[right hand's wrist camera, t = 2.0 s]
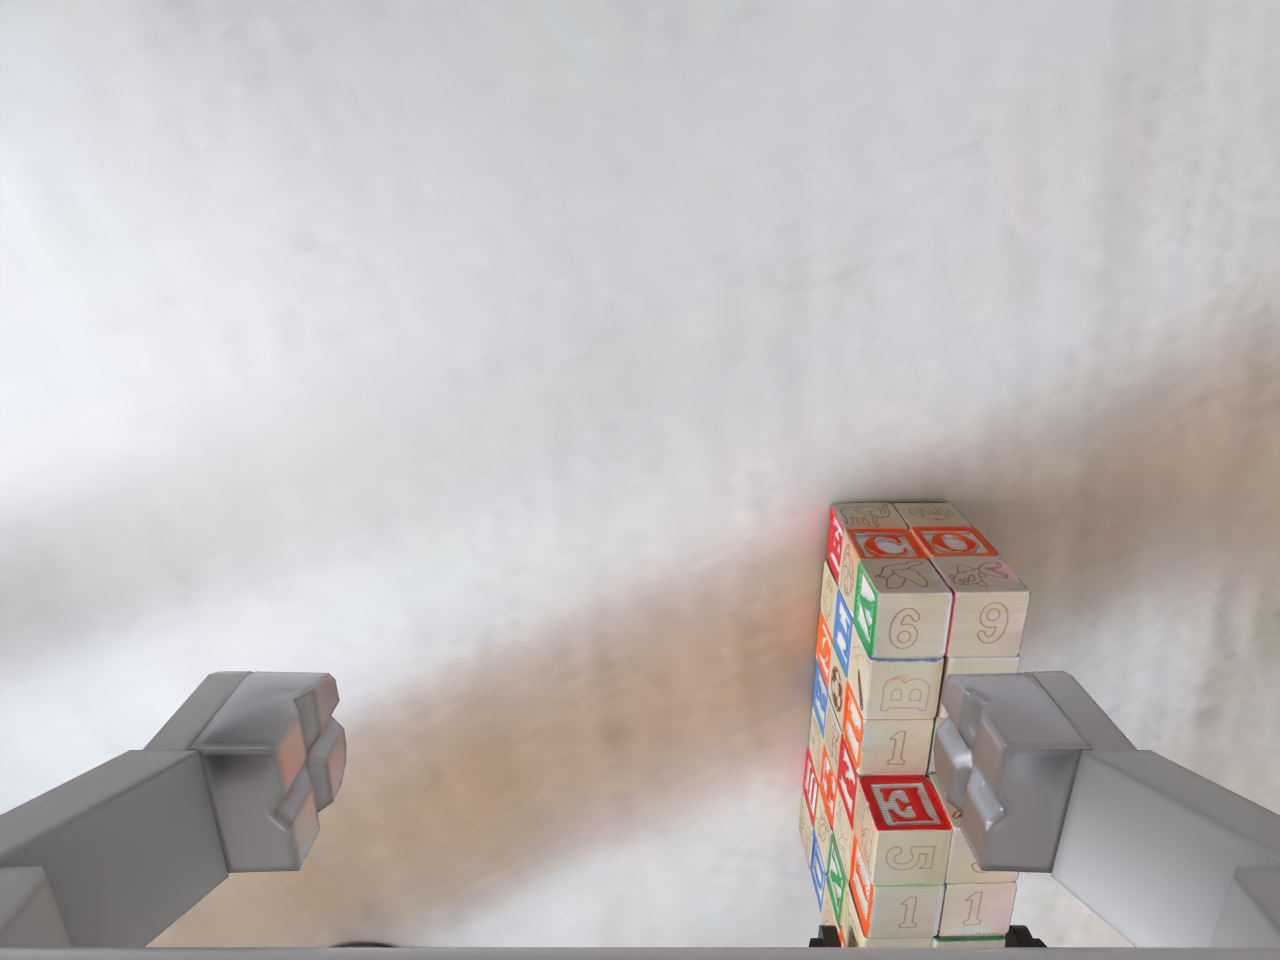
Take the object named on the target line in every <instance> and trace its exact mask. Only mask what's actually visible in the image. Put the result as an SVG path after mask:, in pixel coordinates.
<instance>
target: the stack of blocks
mask: <svg viewBox="0 0 1280 960" xmlns="http://www.w3.org/2000/svg"><path fill="white" fill-rule="evenodd" d="M1029 600H1030V591H1029V590H1028V589H1027V587H1026V586H1025V585H1024V584H1023V583H1022V581H1021V580H1020V579H1019V578H1018V577H1017V576H1016V575H1015V574H1014V573H1013V572H1012V571H1011V570H1010V568H1009V567H1008V566H1007V565H1006V564H1005V563H1004V562H1003V561H1002V559H1000V554H999V553H998V552H997V551H996V550H995V549H994V547H993V546H992V545H991V544H990V543H989V542H988V541H987V540H986V539H985V538H984V537H983V536H982V535H981V534H980V533H979V531H978V530H977V529H975V528H974V527H972V525H971V524H970V523H969V522H968V521H967V520H966V519H965V518H964V516H963V515H962V514H961V513H960V512H959V511H958V510H957V509H956V508H955V507H954V506H953V505H952V504H951V503H893V504H891V503H843V504H832V505H831V508H830V522H829V534H828V549H827V559H826V560H825V562H824V573H823V584H822V595H821V611H820V615H819V625H818V635H817V646H816V658H817V662H816V673H815V683H814V693H813V708H812V718H811V729H810V741H809V748H808V749H807V756H806V766H805V776H804V786H803V794H802V804H801V814H800V825H799V829H800V834H801V838H802V841H803V845H804V849H805V854H806V858H807V862H808V866H809V869H810V870H811V874H812V878H813V882H814V886H815V890H816V894H817V897H818V902H819V907H820V911H821V915H822V923H823V925H836V927H837V931H838V935H839V939H840V943H841V947H1005V937H1004V934H1006V933H1007V932H1008V931H1009V926H1010V922H1011V915H1012V911H1013V905H1014V899H1015V894H1016V890H1017V885H1016V881H1015V880H1017V878H1018V874H1019V872H1007V871H981V870H980V868H979V866H978V864H977V862H976V860H975V858H974V856H973V854H972V852H971V850H970V848H969V846H968V844H967V842H966V840H965V838H964V836H963V834H962V832H961V830H960V825H961V819H962V812H960V811H959V810H958V809H956V808H955V807H953V806H952V805H951V804H949V803H948V802H947V801H946V799H945V797H944V795H943V793H942V791H941V788H940V786H939V782H938V779H937V775H936V772H935V763H934V751H933V749H934V741H935V733H936V728H937V727H938V726H939V725H940V724H941V723H942V722H943V721H944V720H945V719H946V718H947V717H948V716H949V715H948V713H947V711H946V709H945V708H944V706H943V704H942V702H941V695H942V689H943V684H944V682H945V680H946V678H947V676H948V674H989V673H1018V668H1019V662H1020V655H1019V650H1020V646H1021V641H1022V636H1023V630H1024V625H1025V621H1026V615H1027V610H1028V605H1029Z"/></svg>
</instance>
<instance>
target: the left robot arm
mask: <svg viewBox="0 0 1280 960" xmlns="http://www.w3.org/2000/svg"><path fill="white" fill-rule="evenodd" d="M341 947H352V948H384V947H380V946H373V945H347V946H341ZM809 947H841V943H840V939H839V935H838V931H837V927H836V925H820V926H819V932H818V938H811V939H810V943H809ZM1005 947H1047V946H1046V945H1045V944H1044V943H1043V942H1042V941H1041V940H1040V939H1039V938H1032V936H1031V934H1030V932H1029V930H1028V928H1027V927H1026V926H1025V925H1010V926H1009V931H1008V932H1007V933H1006V934H1005Z"/></svg>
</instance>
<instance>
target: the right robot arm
mask: <svg viewBox="0 0 1280 960" xmlns="http://www.w3.org/2000/svg"><path fill="white" fill-rule="evenodd" d="M338 702H339V696H338V691H337V686H336V681H335V679H334V678H333V677H332V676H331V675H330V674H329V673H299V672H251V671H227V672H216V673H213V674H209V675H208V676H207V677H206V678H205V679H204V681H203V682H202V683H201V684H200V685H199V686H198V687H197V689H196V690H195V691H194V692H193V693H192V694H191V695H190V696H189V698H188V699H187V700H186V701H185V702H184V703H183V704H182V706H181V707H180V708H179V709H178V710H177V711H176V712H175V714H174V715H173V716H172V717H171V718H170V719H169V720H168V721H167V723H166V724H165V725H164V726H163V727H162V728H161V729H160V731H159V732H158V733H157V734H156V735H155V736H154V737H153V739H152V740H151V741H150V742H149V743H148V744H147V745H146V747H145V748H144V749H143V750H129V751H127V752H125V753H123V754H121V755H119V756H117V757H115V758H113V759H112V760H110V761H108V762H106V763H104V764H102V765H100V766H98V767H96V768H94V769H92V770H90V771H88V772H86V773H84V774H82V775H80V776H78V777H76V778H74V779H72V780H70V781H68V782H66V783H64V784H62V785H60V786H58V787H56V788H54V789H52V790H50V791H48V792H46V793H44V794H42V795H40V796H38V797H36V798H34V799H32V800H30V801H28V802H26V803H24V804H22V805H20V806H18V807H16V808H14V809H12V810H10V811H8V812H6V813H4V814H2V815H0V960H1280V815H1278V814H1276V813H1274V812H1272V811H1270V810H1268V809H1266V808H1264V807H1262V806H1260V805H1258V804H1256V803H1254V802H1252V801H1250V800H1248V799H1246V798H1244V797H1242V796H1240V795H1238V794H1236V793H1234V792H1232V791H1230V790H1228V789H1226V788H1224V787H1222V786H1220V785H1218V784H1216V783H1214V782H1212V781H1210V780H1208V779H1206V778H1204V777H1202V776H1200V775H1198V774H1196V773H1194V772H1192V771H1190V770H1188V769H1186V768H1184V767H1182V766H1180V765H1178V764H1176V763H1174V762H1172V761H1170V760H1168V759H1166V758H1164V757H1163V756H1161V755H1159V754H1157V753H1155V752H1153V751H1151V750H1137V749H1136V748H1135V747H1134V745H1133V744H1132V743H1131V742H1130V741H1129V740H1128V739H1127V737H1126V736H1125V735H1124V734H1123V733H1122V732H1121V731H1120V729H1119V728H1118V727H1117V726H1116V725H1115V724H1114V723H1113V722H1112V720H1111V719H1110V718H1109V717H1108V716H1107V715H1106V714H1105V712H1104V711H1103V710H1102V709H1101V708H1100V707H1099V706H1098V704H1097V703H1096V702H1095V701H1094V700H1093V699H1092V698H1091V696H1090V695H1089V694H1088V693H1087V692H1086V691H1085V690H1084V689H1083V687H1082V686H1081V685H1080V684H1079V683H1078V682H1077V681H1076V679H1075V678H1074V677H1073V676H1072V675H1070V674H1068V673H1066V672H1064V671H1045V672H1024V673H989V674H948V676H947V678H946V680H945V682H944V684H943V689H942V695H941V702H942V704H943V706H944V708H945V709H946V711H947V713H948V715H949V716H948V717H947V718H946V719H945V720H944V721H943V722H942V723H941V724H940V725H939V726H938V727H937V728H936V733H935V741H934V749H933V751H934V763H935V772H936V775H937V779H938V782H939V786H940V788H941V791H942V793H943V795H944V797H945V799H946V801H947V802H948V803H949V804H951V805H952V806H953V807H955V808H956V809H958V810H959V811H960V812H962V819H961V825H960V830H961V832H962V834H963V836H964V838H965V840H966V842H967V844H968V846H969V848H970V850H971V852H972V854H973V856H974V858H975V860H976V862H977V864H978V866H979V868H980V870H981V871H1007V872H1043V873H1052V875H1051V876H1052V877H1053V878H1054V879H1055V880H1057V881H1058V882H1059V883H1060V884H1061V885H1062V886H1064V887H1065V888H1066V889H1067V890H1068V891H1070V892H1071V893H1072V894H1073V895H1074V896H1076V897H1077V898H1078V899H1079V900H1080V901H1081V902H1083V903H1084V904H1085V905H1086V906H1087V907H1089V908H1090V909H1091V910H1092V911H1093V912H1094V913H1096V914H1097V915H1098V916H1099V917H1100V918H1102V919H1103V920H1104V921H1105V922H1106V923H1108V924H1109V925H1110V926H1111V927H1112V928H1113V929H1115V930H1116V931H1117V932H1118V933H1119V934H1121V935H1122V936H1123V937H1124V938H1125V939H1127V940H1128V941H1129V942H1130V943H1131V944H1132V945H1134V946H1135V947H1091V948H1052V947H624V948H352V947H145V946H147V945H148V944H149V943H150V942H151V941H153V940H154V939H155V938H156V937H157V936H158V935H160V934H161V933H162V932H163V931H164V930H166V929H167V928H168V927H169V926H170V925H172V924H173V923H174V922H175V921H176V920H177V919H179V918H180V917H181V916H182V915H183V914H185V913H186V912H187V911H188V910H189V909H191V908H192V907H193V906H194V905H195V904H197V903H198V902H199V901H200V900H201V899H202V898H204V897H205V896H206V895H207V894H208V893H210V892H211V891H212V890H213V889H214V888H216V887H217V886H218V885H219V884H220V883H221V882H223V881H224V880H225V879H226V878H227V877H228V873H237V872H271V871H299V870H300V868H301V866H302V864H303V862H304V860H305V858H306V856H307V854H308V852H309V850H310V848H311V846H312V844H313V842H314V840H315V838H316V836H317V834H318V832H319V830H320V825H319V819H318V812H320V811H321V810H322V809H324V808H325V807H327V806H328V805H329V804H331V803H332V802H333V801H334V799H335V797H336V795H337V793H338V790H339V788H340V786H341V783H342V779H343V774H344V769H345V765H346V739H345V732H344V728H343V727H342V726H341V725H340V724H339V723H338V722H337V721H336V720H335V719H334V718H333V717H332V716H331V715H332V713H333V711H334V709H335V708H336V706H337V704H338Z"/></svg>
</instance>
